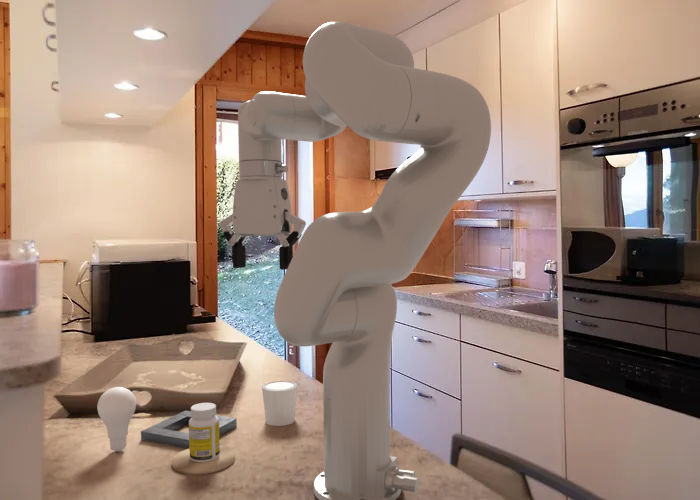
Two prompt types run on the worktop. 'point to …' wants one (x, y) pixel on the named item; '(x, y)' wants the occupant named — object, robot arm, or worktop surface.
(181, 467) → the coaster
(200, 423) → the supplement bottle
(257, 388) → the worktop surface
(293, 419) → the white cup
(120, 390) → the lightbulb
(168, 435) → the collar
